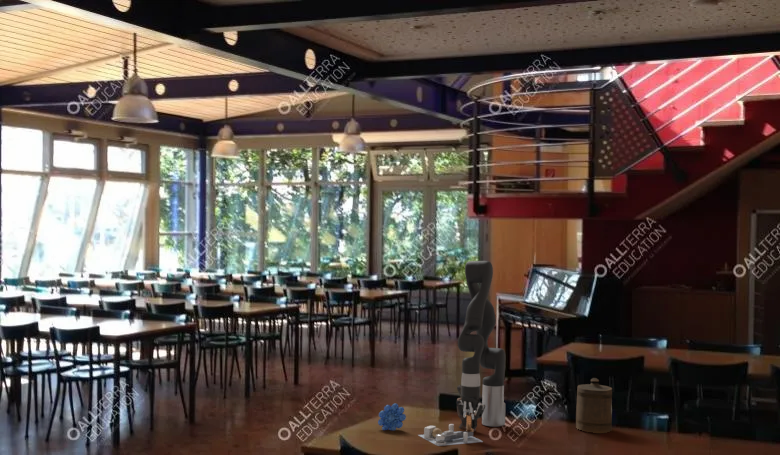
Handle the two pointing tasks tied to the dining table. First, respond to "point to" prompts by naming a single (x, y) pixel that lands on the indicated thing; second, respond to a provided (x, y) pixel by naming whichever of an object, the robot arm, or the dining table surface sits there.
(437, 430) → the hazelnut
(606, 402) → the wooden container
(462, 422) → the mortar and pestle
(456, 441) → the nutcracker base
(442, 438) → the lever
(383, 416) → the blue lumpy cluster
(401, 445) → the dining table surface
